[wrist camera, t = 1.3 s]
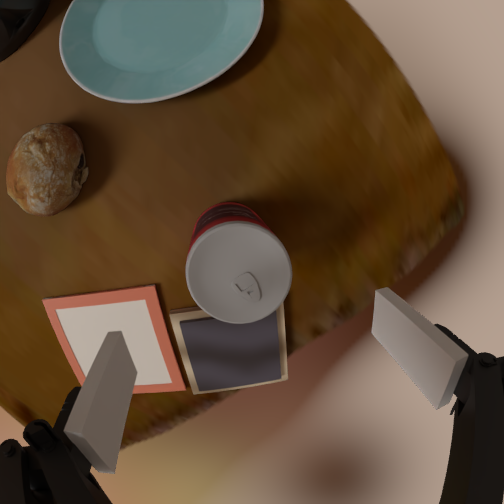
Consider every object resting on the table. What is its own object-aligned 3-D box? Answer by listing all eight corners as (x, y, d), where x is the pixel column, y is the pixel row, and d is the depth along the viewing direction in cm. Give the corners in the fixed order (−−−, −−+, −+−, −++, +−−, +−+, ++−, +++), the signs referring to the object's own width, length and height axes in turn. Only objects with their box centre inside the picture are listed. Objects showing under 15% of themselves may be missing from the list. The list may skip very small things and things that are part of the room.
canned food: (235, 285, 33) (248, 341, 22) (177, 242, 30) (162, 284, 20) (280, 233, 32) (315, 269, 21) (223, 185, 29) (231, 199, 19)
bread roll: (90, 204, 31) (93, 211, 25) (16, 221, 26) (0, 233, 19) (85, 124, 28) (86, 110, 22) (8, 140, 23) (-9, 130, 16)
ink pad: (170, 310, 33) (168, 317, 31) (280, 293, 34) (284, 299, 32) (193, 389, 37) (193, 397, 35) (286, 375, 38) (289, 382, 36)
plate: (264, 99, 27) (270, 93, 25) (63, 125, 25) (51, 122, 22) (255, -48, 20) (258, -60, 18) (81, -24, 18) (74, -34, 15)
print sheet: (43, 298, 30) (42, 299, 29) (155, 283, 31) (154, 285, 31) (86, 391, 35) (86, 393, 34) (186, 387, 36) (185, 390, 36)
